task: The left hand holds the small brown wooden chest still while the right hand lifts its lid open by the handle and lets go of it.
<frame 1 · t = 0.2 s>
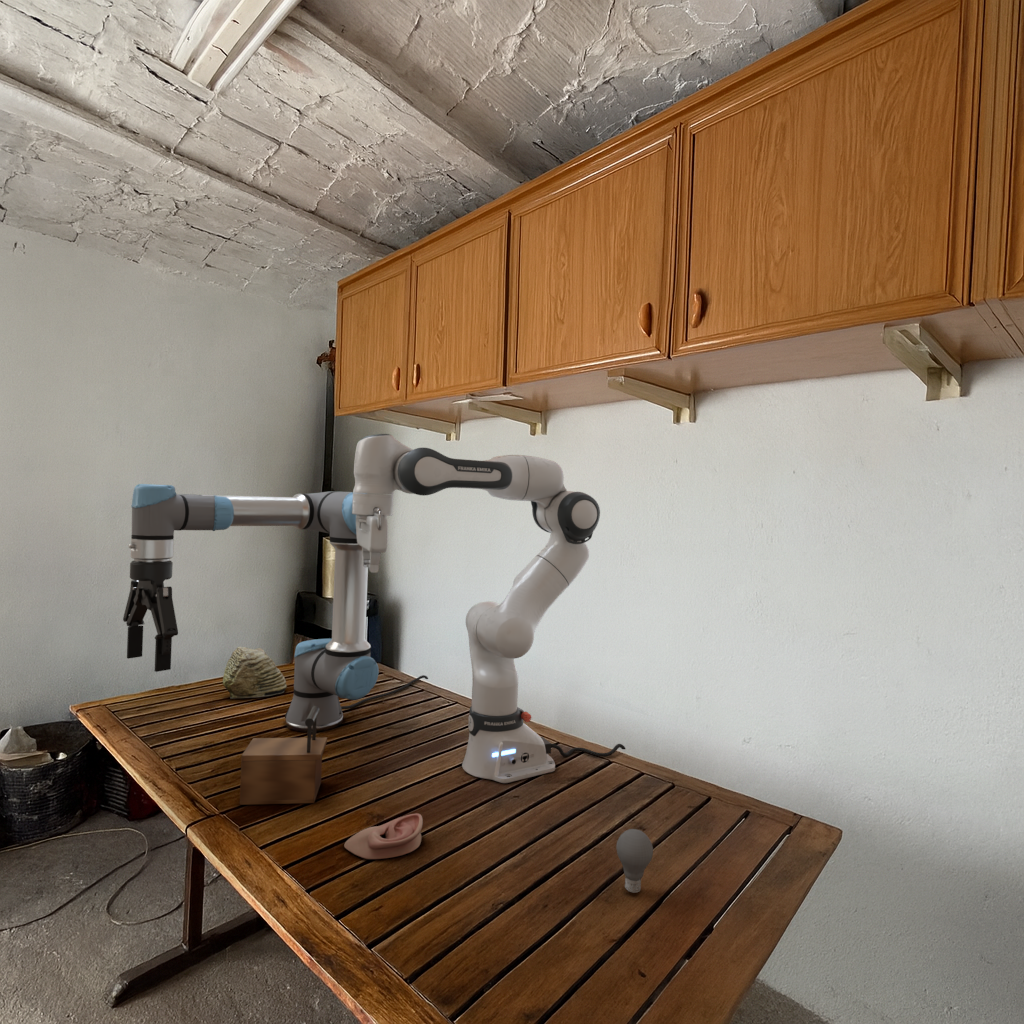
left hand: (148, 663, 129), 28 cm above the table, tool pointing down, fingers open, 13 cm apart
right hand: (370, 569, 140), 48 cm above the table, tool pointing down, fingers open, 8 cm apart
fossil: (254, 694, 198), on the table
light bulb: (632, 891, 106), on the table
lid: (286, 731, 134), point 13 cm above the table, hinge at 0.0°
anatomical model: (383, 844, 117), on the table
chest: (282, 793, 135), on the table
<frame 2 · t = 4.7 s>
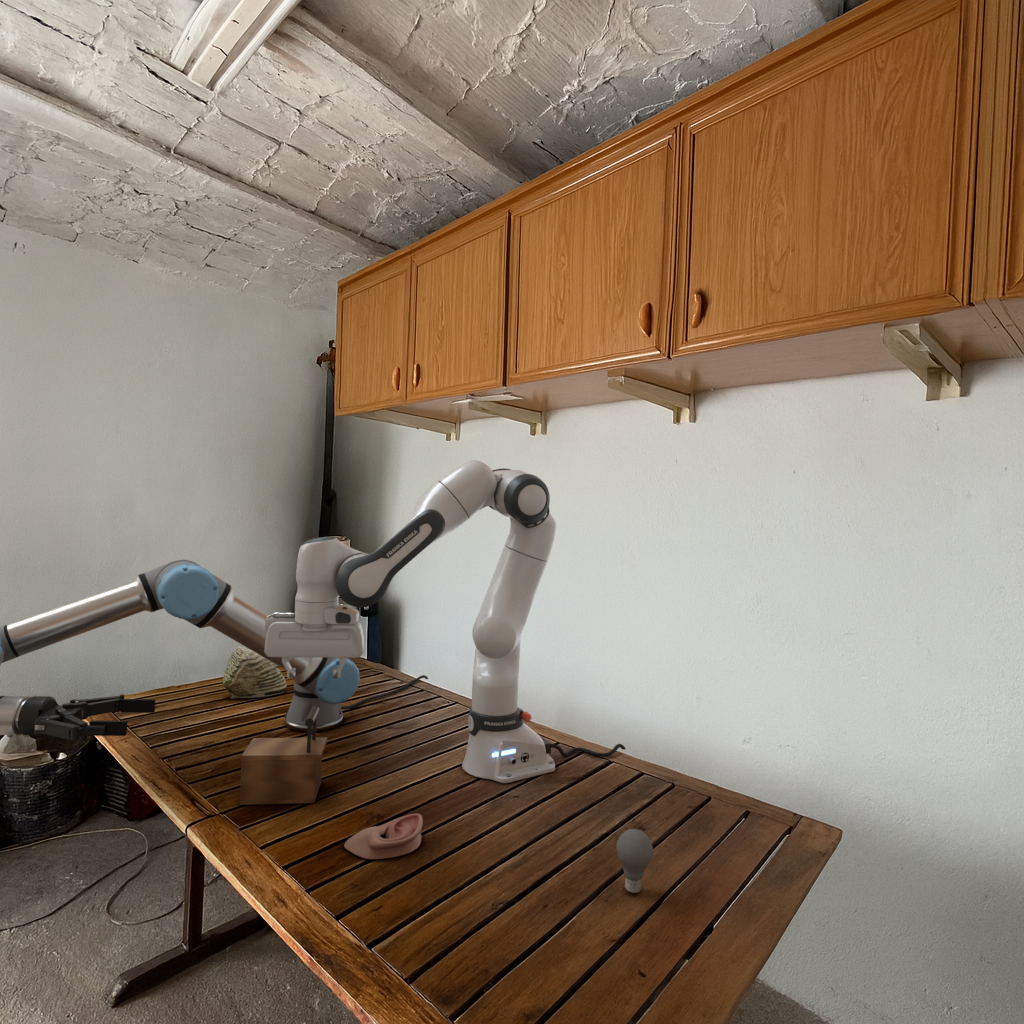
left hand: (141, 716, 130), 17 cm above the table, tool horizontal, fingers open, 13 cm apart
right hand: (314, 677, 135), 25 cm above the table, tool pointing down, fingers open, 8 cm apart
nothing on the table moved.
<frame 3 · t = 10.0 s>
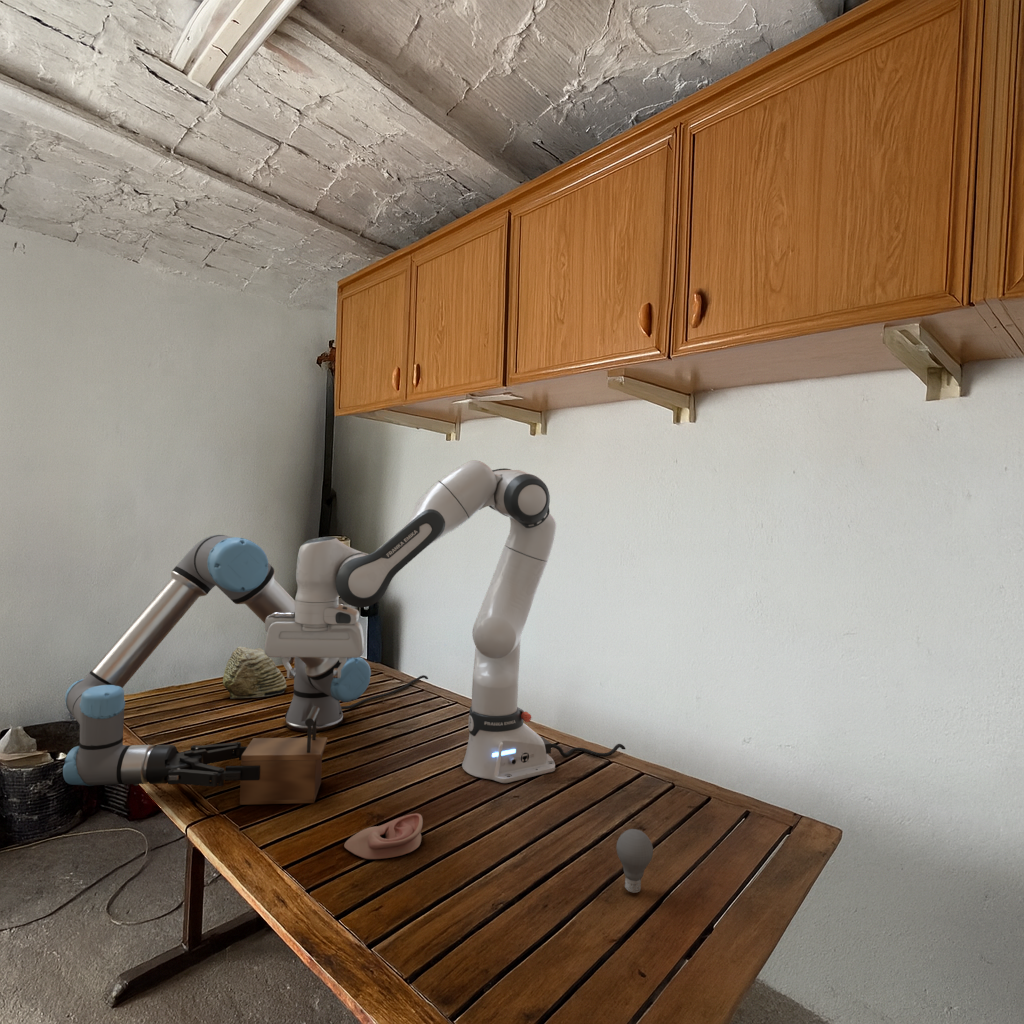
left hand: (265, 762, 134), 7 cm above the table, tool horizontal, fingers closed on chest, 9 cm apart
right hand: (314, 677, 135), 25 cm above the table, tool pointing down, fingers open, 8 cm apart
chest: (282, 793, 135), on the table, touching left hand
everything else where it was.
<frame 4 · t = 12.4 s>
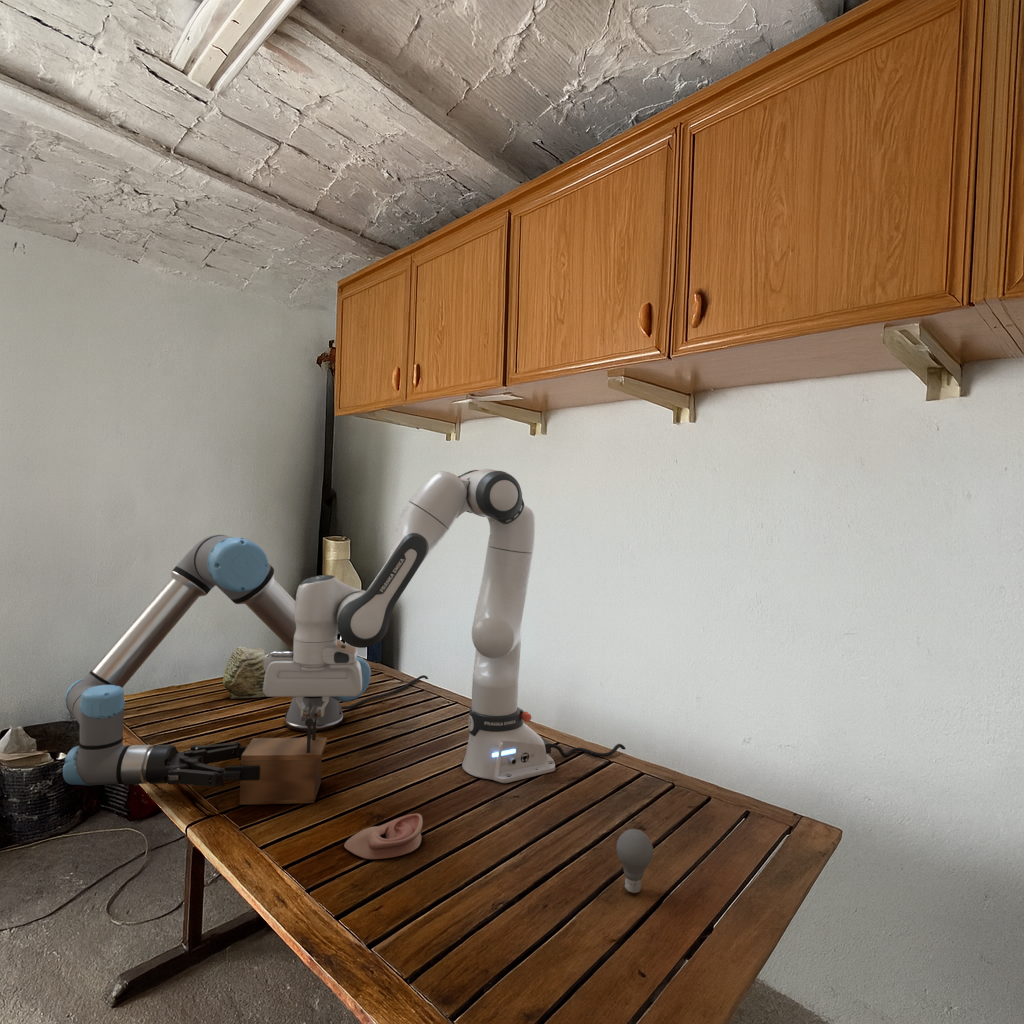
left hand: (265, 762, 134), 7 cm above the table, tool horizontal, fingers closed on chest, 9 cm apart
right hand: (312, 716, 135), 16 cm above the table, tool pointing down, fingers closed on lid, 2 cm apart
lid: (286, 731, 134), point 13 cm above the table, hinge at -0.1°, touching right hand
chest: (281, 793, 135), on the table, touching left hand
everything else where it was.
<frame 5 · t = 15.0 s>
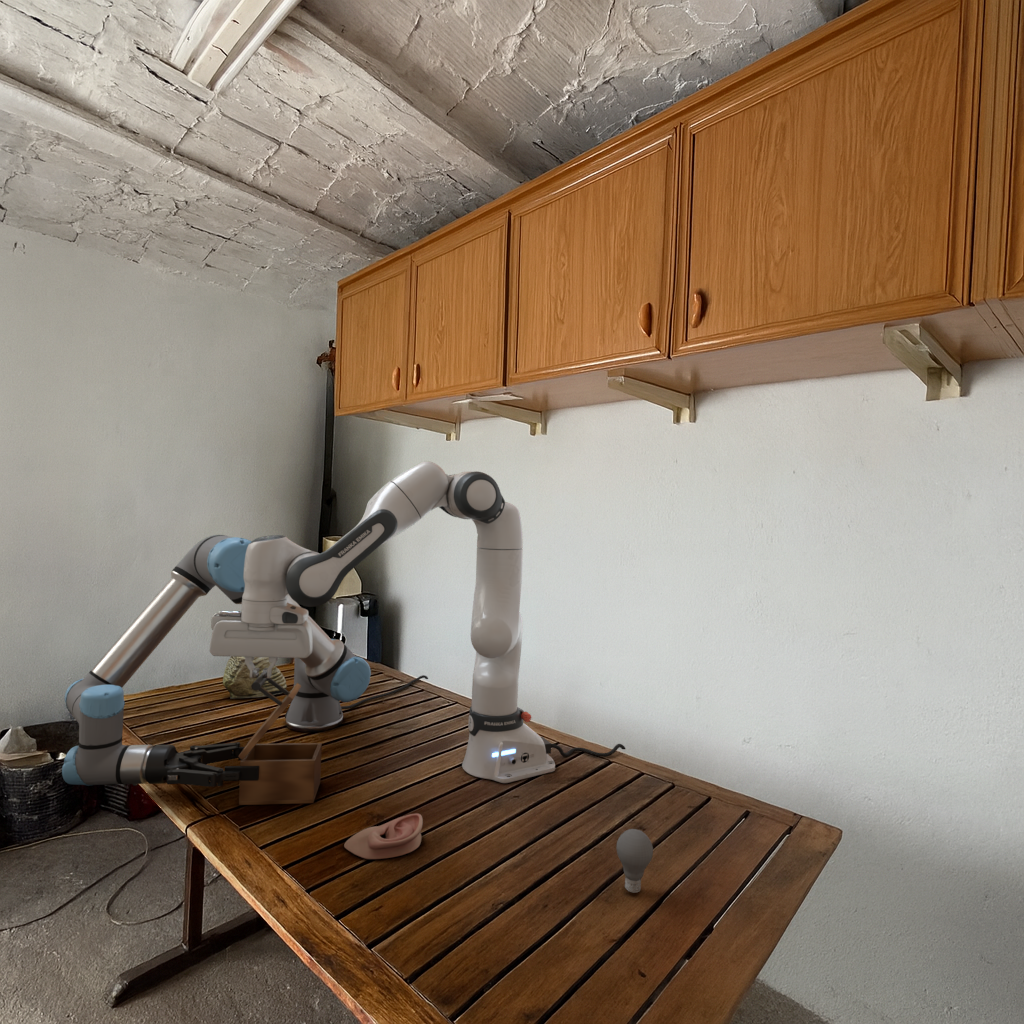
left hand: (264, 762, 134), 7 cm above the table, tool horizontal, fingers closed on chest, 9 cm apart
right hand: (260, 677, 133), 25 cm above the table, tool pointing down, fingers closed, pressing on lid
lid: (257, 709, 133), point 18 cm above the table, hinge at 52.7°, touching right hand
chest: (281, 793, 134), on the table, touching left hand
everything else where it was.
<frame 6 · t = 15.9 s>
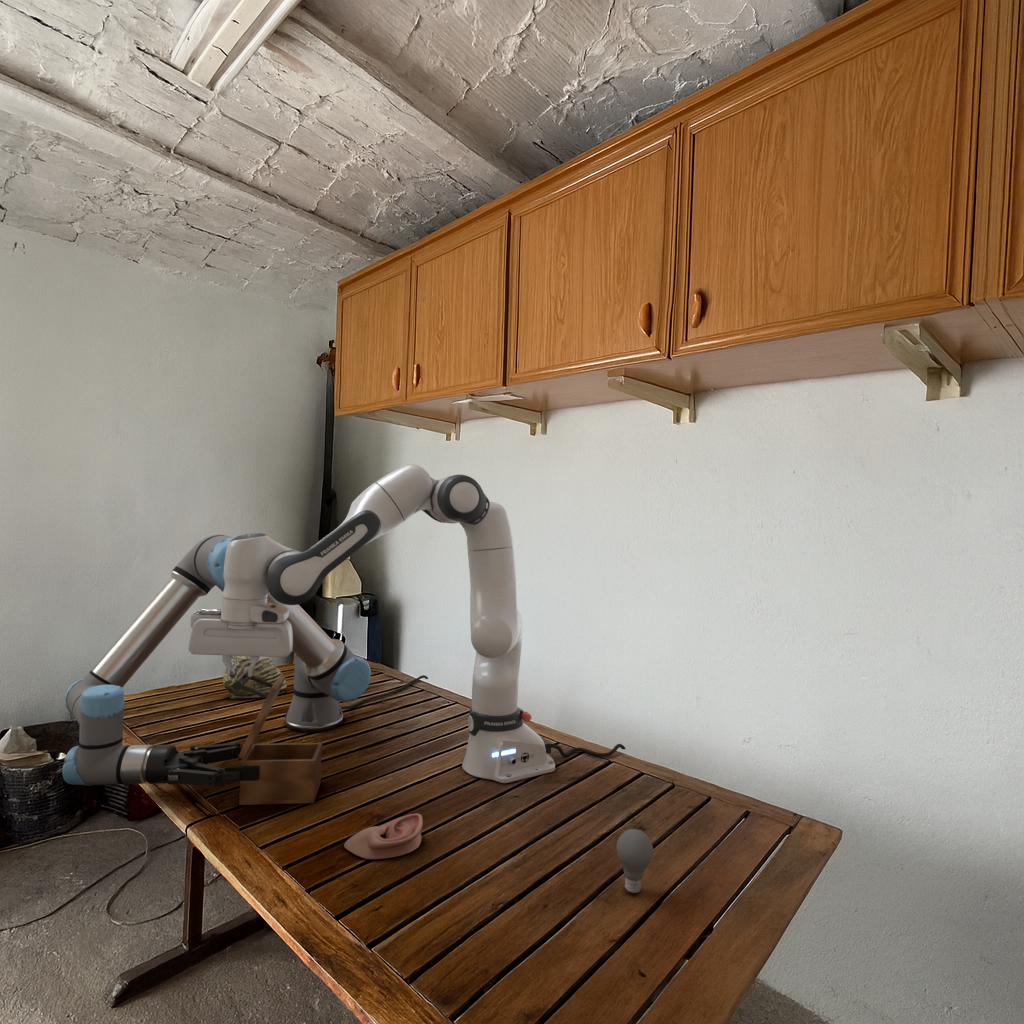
left hand: (264, 762, 134), 7 cm above the table, tool horizontal, fingers closed on chest, 9 cm apart
right hand: (239, 676, 133), 25 cm above the table, tool pointing down, fingers closed
lid: (246, 708, 133), point 18 cm above the table, hinge at 67.2°, touching right hand
chest: (281, 793, 134), on the table, touching left hand
everything else where it was.
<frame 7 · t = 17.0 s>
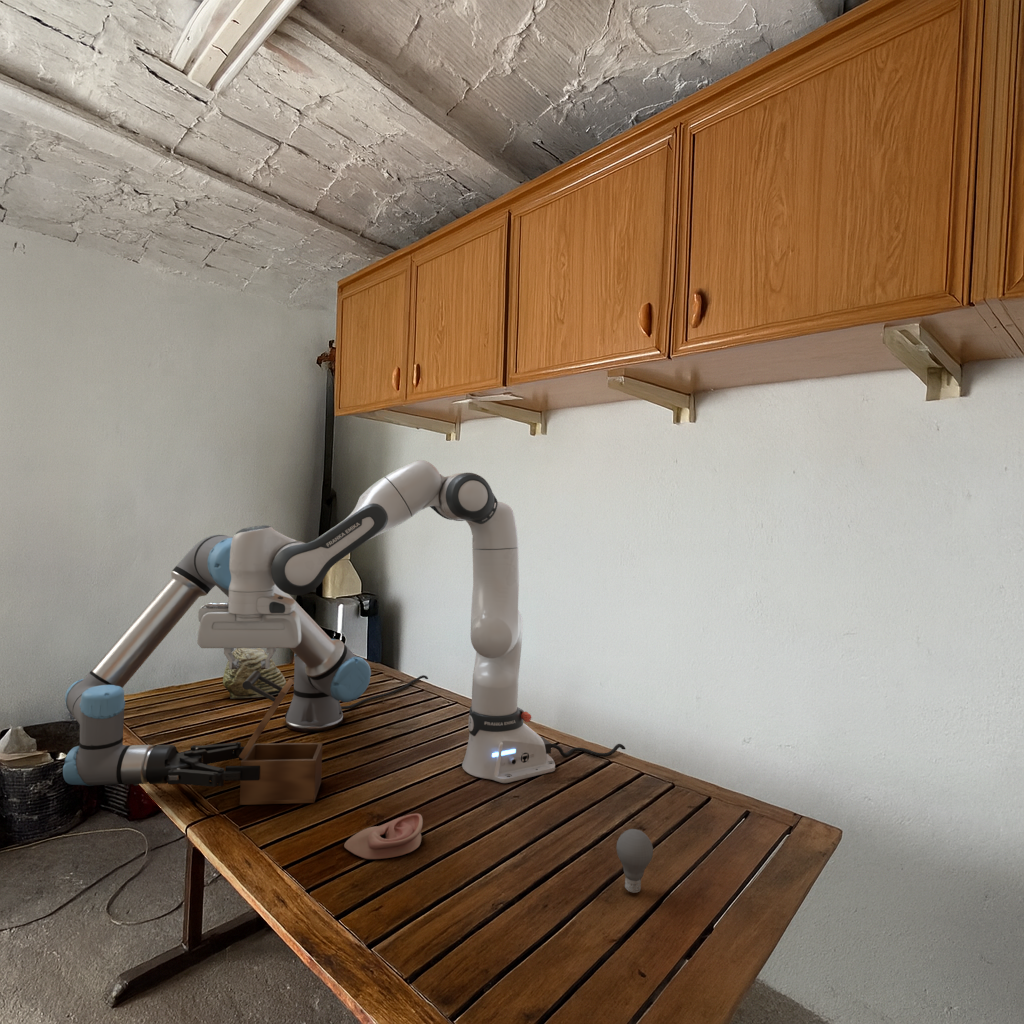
left hand: (265, 762, 134), 7 cm above the table, tool horizontal, fingers closed on chest, 9 cm apart
right hand: (249, 668, 133), 27 cm above the table, tool pointing down, fingers open, 5 cm apart
lid: (252, 708, 133), point 18 cm above the table, hinge at 60.0°
chest: (282, 793, 135), on the table, touching left hand
everything else where it was.
when the left hand's fingers open (7 cm above the table, at t = 19.8 s): chest stays where it is, on the table.
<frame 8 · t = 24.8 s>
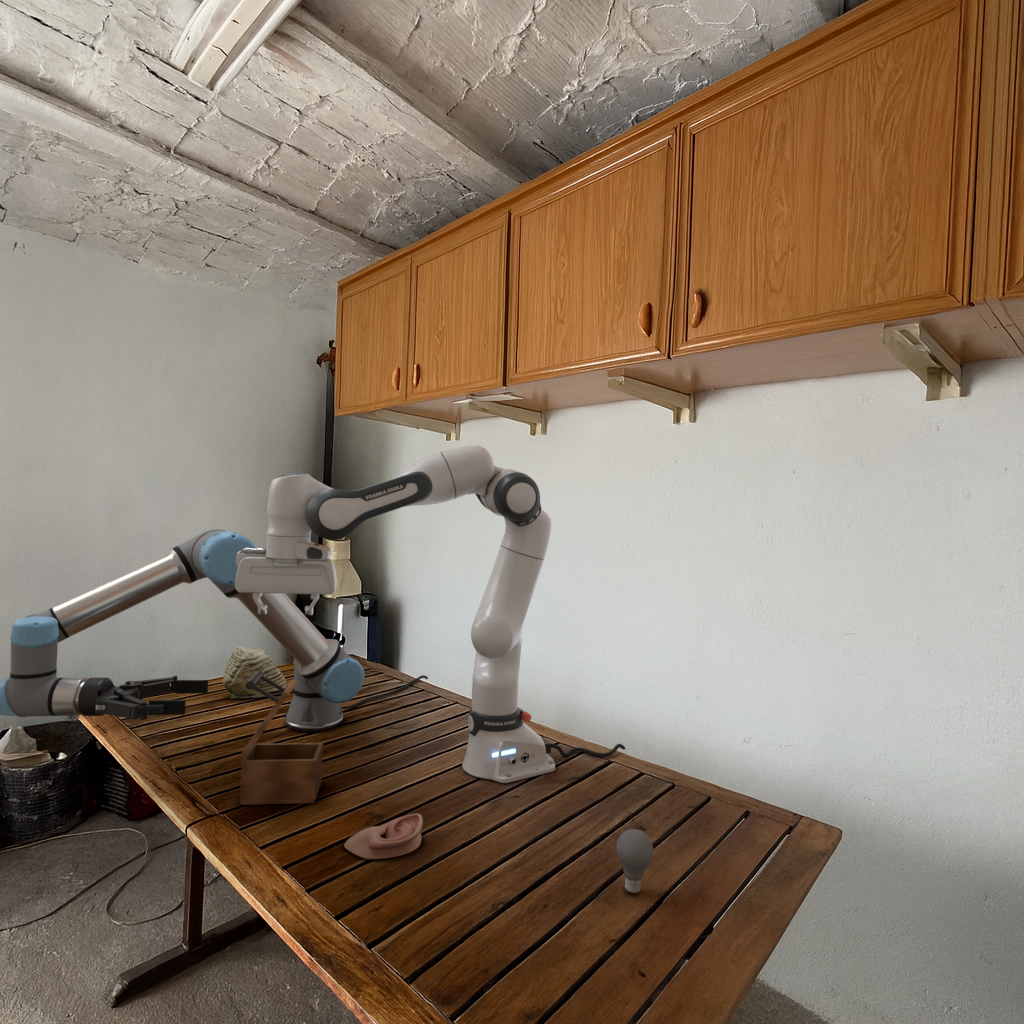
left hand: (196, 696, 132), 21 cm above the table, tool horizontal, fingers open, 13 cm apart
right hand: (285, 614, 134), 38 cm above the table, tool pointing down, fingers open, 8 cm apart
lid: (254, 708, 133), point 18 cm above the table, hinge at 58.3°
chest: (282, 793, 135), on the table
everything else where it was.
at the end: lid at +58° (first picture: +0°); the left hand is holding nothing; the right hand is holding nothing; chest tilted 0°; chest never tilted more than 1° during the clip; chest moved 0.1 cm from its start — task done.
